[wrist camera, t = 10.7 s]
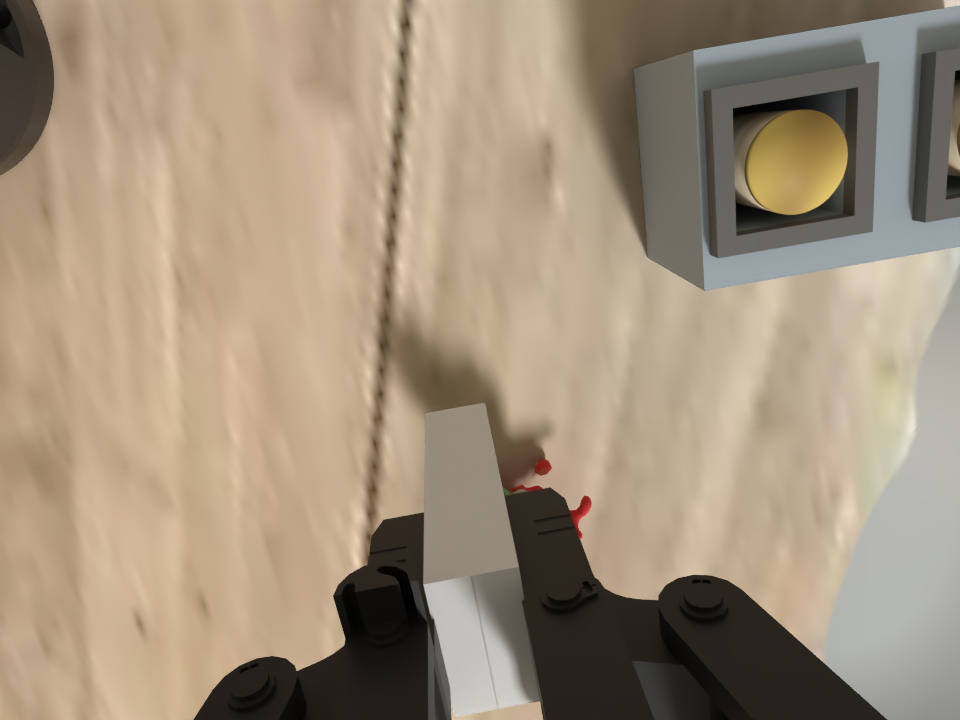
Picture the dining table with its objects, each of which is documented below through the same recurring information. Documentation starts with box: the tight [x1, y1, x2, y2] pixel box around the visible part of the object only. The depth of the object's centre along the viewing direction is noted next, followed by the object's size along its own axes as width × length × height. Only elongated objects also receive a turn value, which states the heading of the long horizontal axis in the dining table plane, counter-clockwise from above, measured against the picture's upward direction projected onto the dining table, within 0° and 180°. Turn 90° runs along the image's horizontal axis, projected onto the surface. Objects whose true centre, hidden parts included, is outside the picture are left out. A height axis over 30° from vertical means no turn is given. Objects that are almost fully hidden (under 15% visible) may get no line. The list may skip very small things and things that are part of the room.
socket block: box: [634, 6, 960, 291], centre depth 38 cm, size 20×12×11 cm, turn 99°
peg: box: [733, 110, 848, 215], centre depth 37 cm, size 5×5×10 cm
